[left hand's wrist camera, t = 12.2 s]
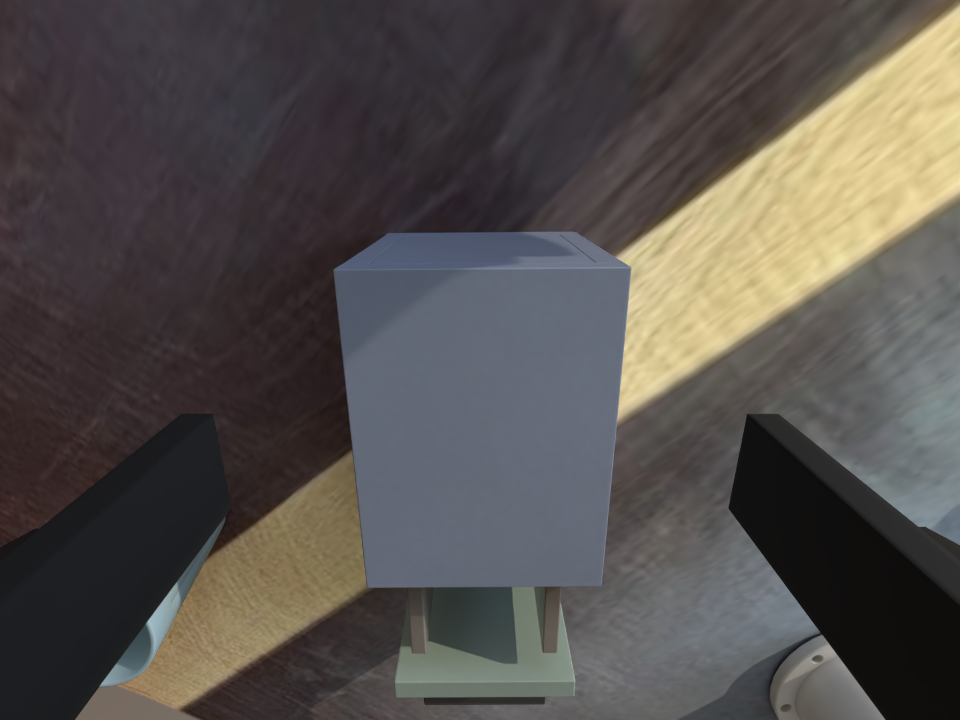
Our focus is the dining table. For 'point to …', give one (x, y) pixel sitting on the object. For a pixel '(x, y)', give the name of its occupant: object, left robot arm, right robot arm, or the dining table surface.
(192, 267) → the dining table surface
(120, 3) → the dining table surface
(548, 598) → the drawer
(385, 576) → the cabinet
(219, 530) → the cup
